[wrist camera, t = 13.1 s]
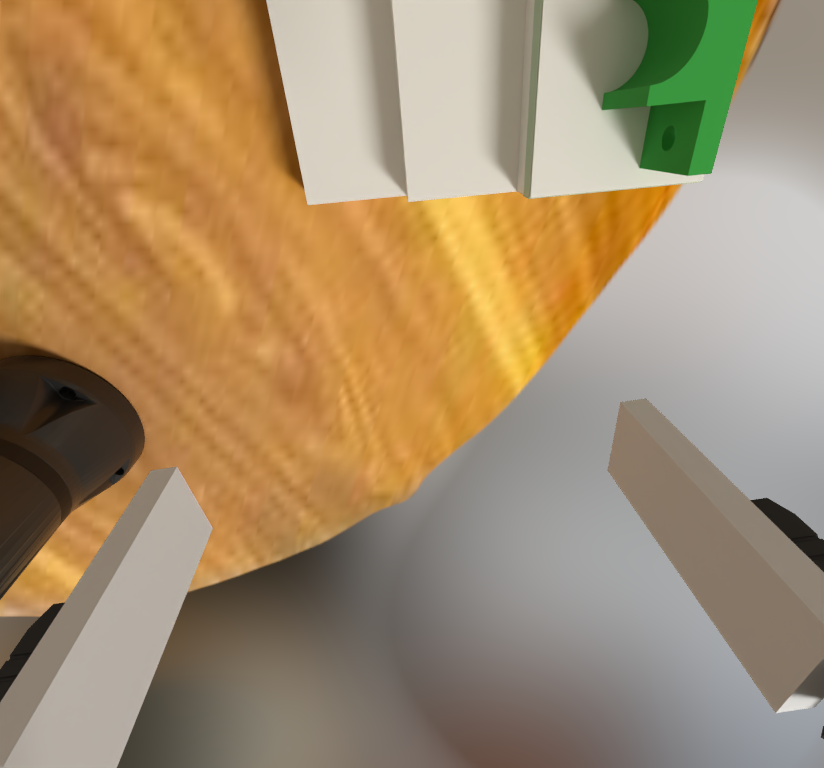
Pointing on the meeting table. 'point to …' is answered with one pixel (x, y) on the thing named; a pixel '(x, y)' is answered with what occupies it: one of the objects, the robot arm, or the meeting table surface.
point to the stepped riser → (462, 97)
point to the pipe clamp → (686, 80)
